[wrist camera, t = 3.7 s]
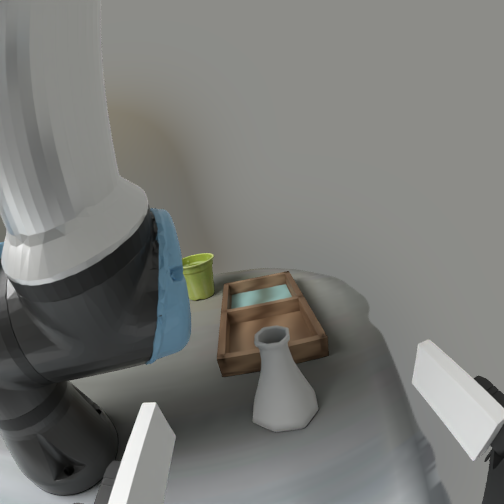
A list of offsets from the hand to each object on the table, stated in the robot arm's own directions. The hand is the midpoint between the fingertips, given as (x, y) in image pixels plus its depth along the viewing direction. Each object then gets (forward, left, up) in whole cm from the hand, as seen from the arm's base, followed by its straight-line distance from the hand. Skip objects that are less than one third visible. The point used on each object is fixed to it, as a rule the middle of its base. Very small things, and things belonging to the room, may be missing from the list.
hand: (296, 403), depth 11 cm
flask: (0, +11, -13) cm, 17 cm away
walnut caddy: (0, +32, -13) cm, 35 cm away
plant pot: (-13, +49, -13) cm, 53 cm away
